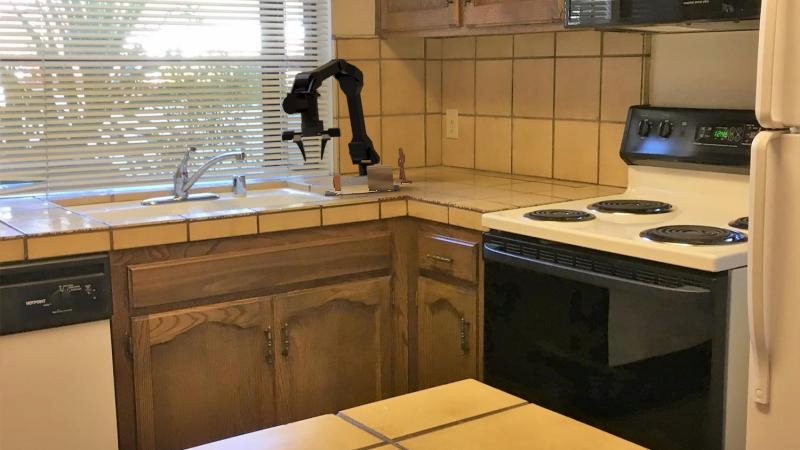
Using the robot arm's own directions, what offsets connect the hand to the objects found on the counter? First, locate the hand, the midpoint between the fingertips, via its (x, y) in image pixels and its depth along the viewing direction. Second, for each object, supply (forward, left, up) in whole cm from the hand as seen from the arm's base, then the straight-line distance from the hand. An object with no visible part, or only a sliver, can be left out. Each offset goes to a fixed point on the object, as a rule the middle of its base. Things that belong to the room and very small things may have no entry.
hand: (313, 160), depth 292 cm
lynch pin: (0, +14, -10) cm, 17 cm away
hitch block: (0, +21, -11) cm, 24 cm away
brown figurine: (-16, +29, -11) cm, 35 cm away
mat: (0, +15, -11) cm, 19 cm away
